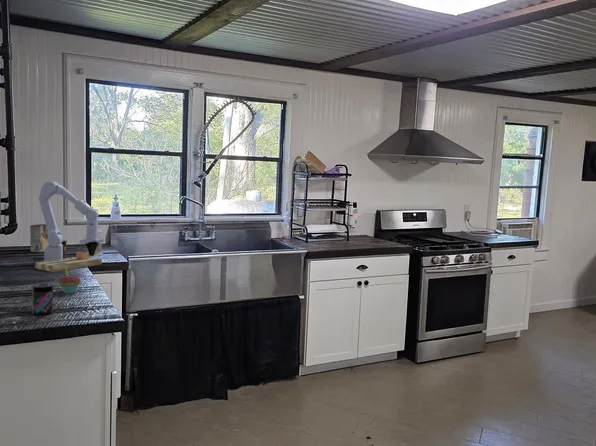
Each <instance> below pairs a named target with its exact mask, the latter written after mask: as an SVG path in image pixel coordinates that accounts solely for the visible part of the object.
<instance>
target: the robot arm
mask: <svg viewBox="0 0 596 446" xmlns="http://www.w3.org/2000/svg"><path fill="white" fill-rule="evenodd" d="M53 195H59V196H60V195H61V196H62V197H64V198H65V199H67V200H68V201H70V202H71V203H72V204H73V205H74V209H76V210H77V211H78V212H79V213H81V214H82V215H83V216H85V218H86V234H85V236H86V237H85V238H84V239H80V240H79V244H80V245H85V246H86V249H87V252H88V251H89V257H95V255H94V254H95V250H97V249H96V248H97V246H98V245H99V243H97V242H104V240H105V238H104V237H103V238H102V237H100V238H98V234H99V233H98V228H99V227H98V225H99V223H98V221H99V220H98V218H99V214H100V213H99V211H98V210H97V209H95V208H94V207H93V206H91V205H89V204H88V203H87V200H83V199H78V198H77V197H76V196H75V195H74V194H73V193H71V192H70V191H69V190H68V189H67V188H66V187H64V186H63V185H62V184H59V182H58V181H55V180H54V181H53V180H51V181H47V182H45V183H44V184H43V185H42V186H41V189H40V193H39V196H38V201H39V204H40V208H41V211H42V215H43V219H44V222H45V224H46V226H47V229H48V246H47V247H46V248H45V250H44V251H43V261H50V260H58V259H64V258H63V245H62V242H63V240H65V239H64V236H63V234H62V233H61V230H60V229H59V227H58V225H57V221H56V218H55V214H54V210H53V207H52V204H51V198H52V197H53ZM91 241H93V242H91Z"/></svg>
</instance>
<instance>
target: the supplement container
mask: <svg viewBox="0 0 596 446" xmlns="http://www.w3.org/2000/svg"><path fill="white" fill-rule="evenodd" d="M31 289H32V290H31V291H32V304H31V305H32V308H31V309H32V311H31V312H32V314H33V315H34V316H37V317H39V316H40V317H42V316H49V315H52V313H53V311H54V284H53V283H47V282H46V283H45V282H41V283H35V284H33V285H32V288H31Z"/></svg>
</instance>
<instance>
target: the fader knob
mask: <svg viewBox="0 0 596 446" xmlns="http://www.w3.org/2000/svg"><path fill="white" fill-rule="evenodd" d="M75 257H76V258H78V259H88V258H89V257H90V255H89V252H88V251H85V250H84V251H83V250H78V251H75Z"/></svg>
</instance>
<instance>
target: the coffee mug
mask: <svg viewBox="0 0 596 446" xmlns="http://www.w3.org/2000/svg"><path fill="white" fill-rule="evenodd" d="M67 242H68V241H67V239H64V240H63V242H62V245H63V259H65V256H66V249H67Z"/></svg>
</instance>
